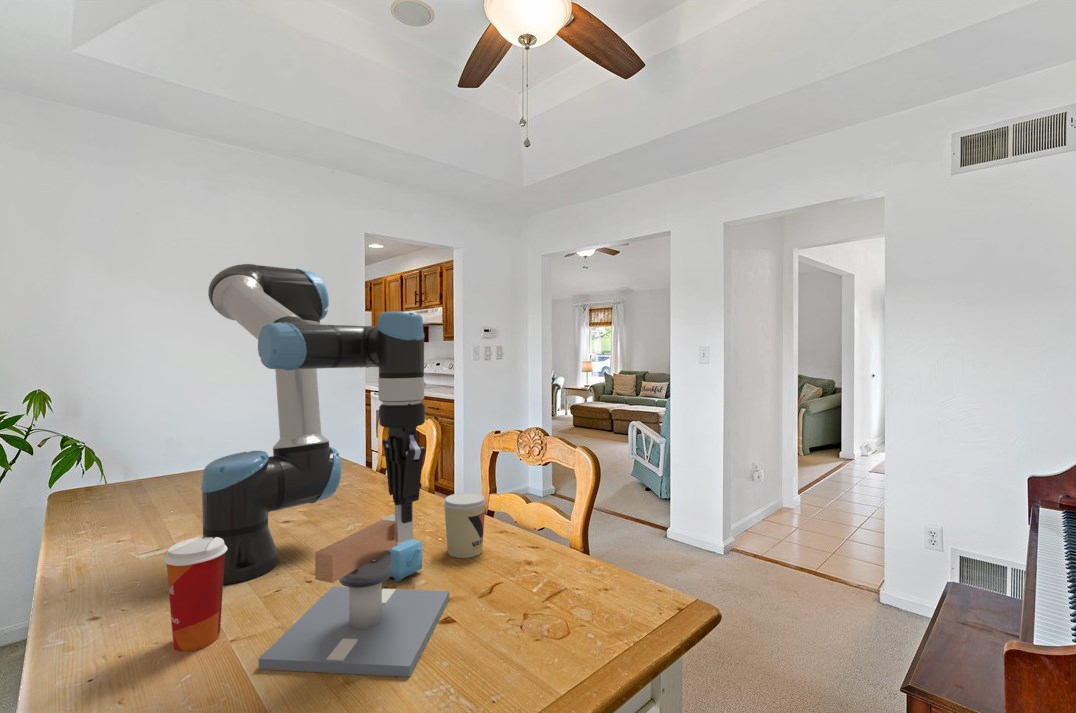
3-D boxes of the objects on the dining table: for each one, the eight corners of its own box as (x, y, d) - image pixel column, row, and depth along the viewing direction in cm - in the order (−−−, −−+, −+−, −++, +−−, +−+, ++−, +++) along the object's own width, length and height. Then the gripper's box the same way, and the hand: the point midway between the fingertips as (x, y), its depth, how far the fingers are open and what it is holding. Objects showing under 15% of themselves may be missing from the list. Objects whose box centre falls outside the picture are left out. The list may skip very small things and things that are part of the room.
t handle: (345, 606, 72) (345, 557, 72) (302, 597, 75) (302, 549, 75) (418, 558, 89) (418, 517, 89) (381, 551, 92) (381, 512, 92)
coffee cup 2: (478, 561, 109) (478, 505, 109) (437, 557, 111) (437, 503, 111) (490, 544, 118) (490, 493, 118) (452, 541, 120) (452, 491, 120)
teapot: (434, 576, 102) (434, 539, 102) (412, 589, 97) (412, 549, 97) (392, 563, 108) (392, 528, 108) (369, 574, 103) (369, 537, 103)
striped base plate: (258, 669, 72) (258, 609, 72) (332, 594, 94) (332, 549, 94) (409, 677, 71) (409, 616, 70) (449, 599, 93) (449, 552, 92)
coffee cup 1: (185, 627, 83) (184, 536, 83) (238, 624, 84) (237, 534, 84) (150, 658, 75) (149, 557, 75) (209, 655, 76) (208, 555, 75)
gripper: (438, 403, 84) (441, 545, 84) (408, 398, 94) (410, 525, 95) (395, 406, 80) (397, 557, 80) (367, 401, 90) (369, 534, 90)
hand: (404, 539), depth 87 cm, fingers closed
